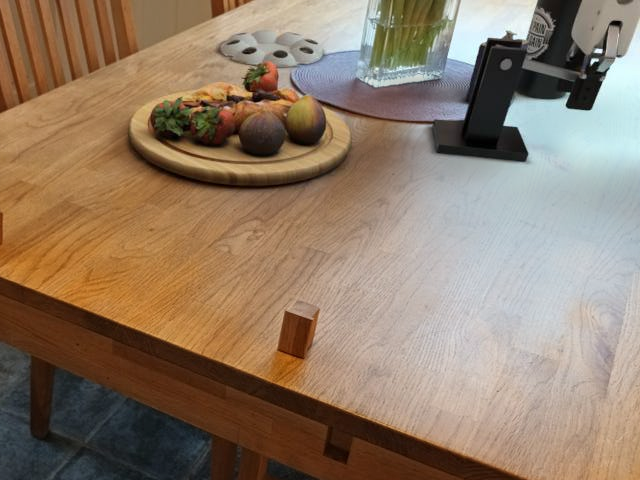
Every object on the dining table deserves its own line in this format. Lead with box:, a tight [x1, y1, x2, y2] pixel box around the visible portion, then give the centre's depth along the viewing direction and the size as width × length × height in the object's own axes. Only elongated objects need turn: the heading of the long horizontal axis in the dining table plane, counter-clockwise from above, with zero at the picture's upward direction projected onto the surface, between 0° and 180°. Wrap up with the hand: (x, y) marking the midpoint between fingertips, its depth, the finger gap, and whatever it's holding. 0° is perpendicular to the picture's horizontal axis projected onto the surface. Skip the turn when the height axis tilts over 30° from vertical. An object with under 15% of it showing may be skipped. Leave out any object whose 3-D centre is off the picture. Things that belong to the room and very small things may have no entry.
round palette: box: [219, 30, 323, 68], centre depth 138 cm, size 20×20×2 cm
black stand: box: [432, 37, 529, 162], centre depth 100 cm, size 12×10×14 cm
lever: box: [495, 44, 582, 82], centre depth 97 cm, size 13×6×2 cm, turn 77°
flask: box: [464, 29, 529, 104], centre depth 116 cm, size 9×3×11 cm, turn 111°
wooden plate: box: [127, 62, 353, 187], centre depth 102 cm, size 32×32×8 cm
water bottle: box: [514, 0, 582, 100], centre depth 116 cm, size 10×10×23 cm
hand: (572, 98), depth 98 cm, fingers closed on lever, 6 cm apart
